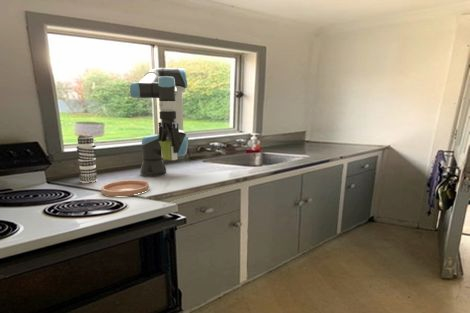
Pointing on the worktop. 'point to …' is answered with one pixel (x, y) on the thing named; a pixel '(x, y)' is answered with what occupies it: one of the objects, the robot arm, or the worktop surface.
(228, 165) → the worktop surface
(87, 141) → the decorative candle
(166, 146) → the plant pot
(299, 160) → the worktop surface
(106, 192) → the saucer
